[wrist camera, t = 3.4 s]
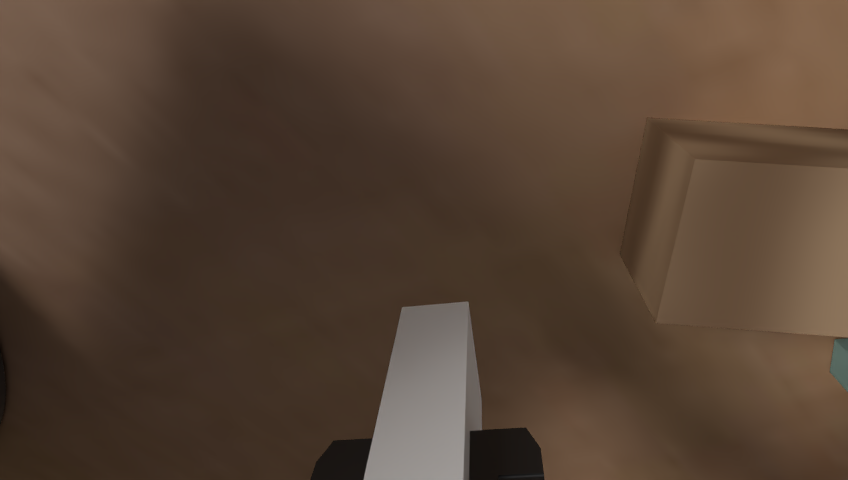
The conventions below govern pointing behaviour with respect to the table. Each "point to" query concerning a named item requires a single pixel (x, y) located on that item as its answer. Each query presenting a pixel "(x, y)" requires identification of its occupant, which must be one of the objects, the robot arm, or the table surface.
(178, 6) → the table surface
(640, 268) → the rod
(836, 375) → the channel
